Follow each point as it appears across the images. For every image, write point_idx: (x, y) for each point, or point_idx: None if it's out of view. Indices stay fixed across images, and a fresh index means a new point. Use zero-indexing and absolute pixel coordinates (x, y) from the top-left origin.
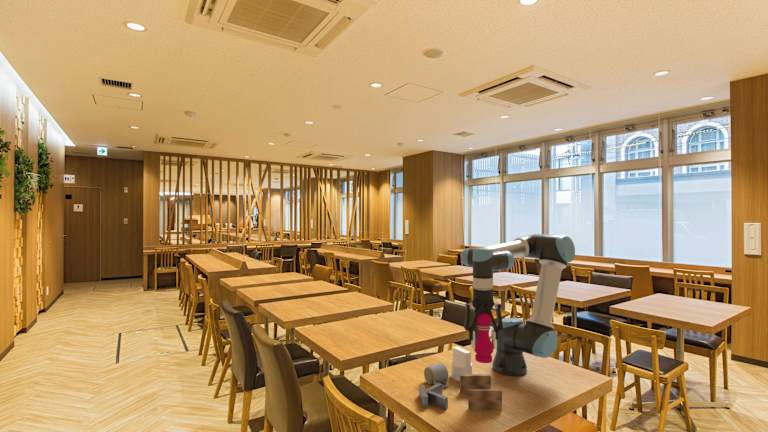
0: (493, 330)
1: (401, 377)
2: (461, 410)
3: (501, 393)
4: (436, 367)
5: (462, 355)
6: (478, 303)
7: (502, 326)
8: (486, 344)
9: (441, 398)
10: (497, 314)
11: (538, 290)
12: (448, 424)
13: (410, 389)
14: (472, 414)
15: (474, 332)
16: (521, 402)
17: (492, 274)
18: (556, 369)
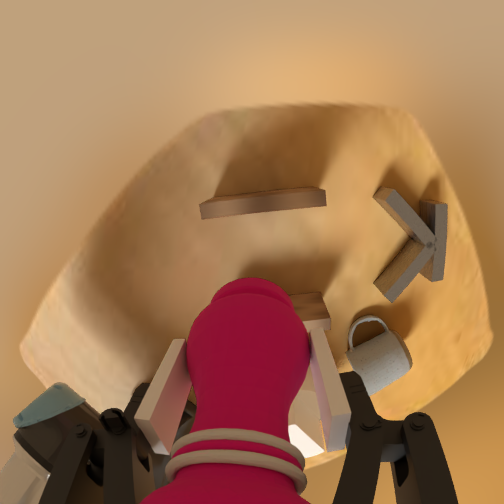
0: (152, 444)
1: (438, 357)
2: (336, 185)
3: (203, 202)
4: (388, 368)
5: (302, 422)
6: None
7: (67, 439)
8: (231, 334)
9: (401, 198)
10: None
11: None
12: (376, 110)
13: (439, 300)
14: (307, 163)
15: (338, 414)
16: (151, 250)
17: None
18: None
